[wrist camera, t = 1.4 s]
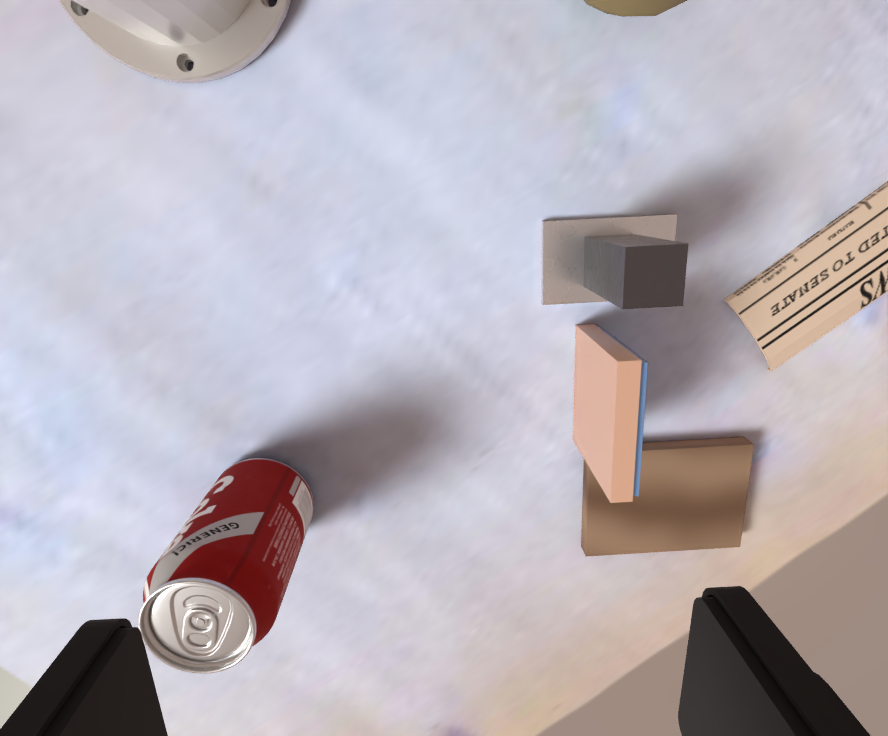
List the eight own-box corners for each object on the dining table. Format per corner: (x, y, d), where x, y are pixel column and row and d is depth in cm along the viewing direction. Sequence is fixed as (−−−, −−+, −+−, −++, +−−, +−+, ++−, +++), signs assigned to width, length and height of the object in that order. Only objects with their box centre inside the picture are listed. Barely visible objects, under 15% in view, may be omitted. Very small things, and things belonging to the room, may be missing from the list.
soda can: (322, 462, 37) (275, 581, 25) (309, 545, 39) (260, 691, 27) (221, 445, 36) (126, 559, 25) (213, 531, 38) (122, 674, 27)
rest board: (584, 446, 37) (589, 453, 36) (743, 436, 37) (754, 444, 36) (581, 545, 39) (585, 556, 38) (730, 536, 40) (739, 546, 39)
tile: (575, 324, 35) (617, 361, 27) (600, 323, 35) (649, 359, 27) (572, 439, 37) (610, 502, 29) (596, 438, 37) (639, 501, 29)
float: (541, 220, 33) (573, 227, 25) (673, 214, 33) (742, 219, 26) (541, 303, 34) (571, 331, 27) (667, 296, 34) (730, 322, 27)
